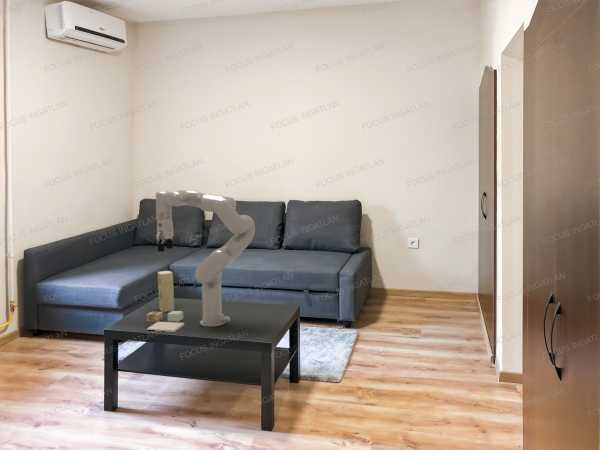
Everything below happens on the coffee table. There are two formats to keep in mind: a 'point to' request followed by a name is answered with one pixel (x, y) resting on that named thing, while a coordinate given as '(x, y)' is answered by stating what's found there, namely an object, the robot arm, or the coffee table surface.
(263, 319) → the coffee table surface
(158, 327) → the baseplate
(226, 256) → the robot arm
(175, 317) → the sage block
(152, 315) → the oak block
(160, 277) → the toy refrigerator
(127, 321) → the coffee table surface
